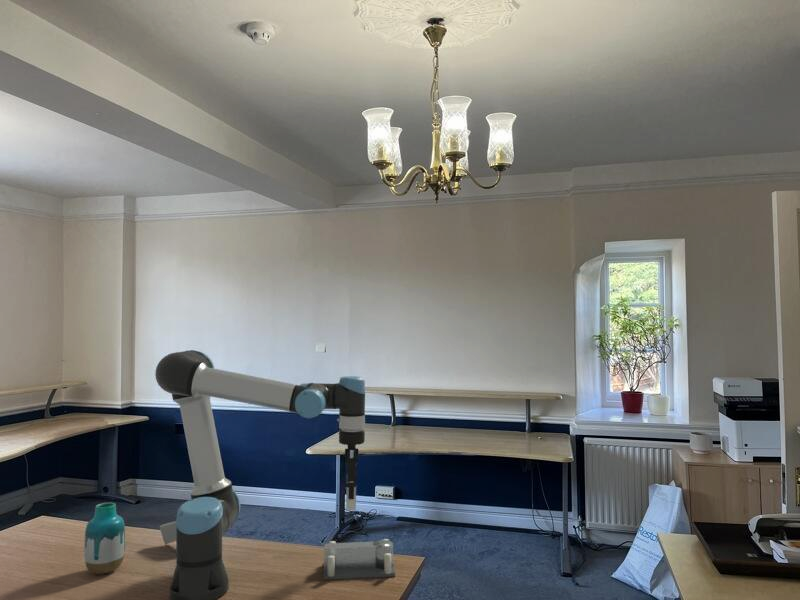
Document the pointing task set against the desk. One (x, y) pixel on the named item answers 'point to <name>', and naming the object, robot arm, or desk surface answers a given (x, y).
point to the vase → (104, 540)
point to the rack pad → (358, 570)
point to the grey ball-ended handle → (358, 554)
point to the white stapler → (168, 532)
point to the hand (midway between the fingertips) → (351, 502)
